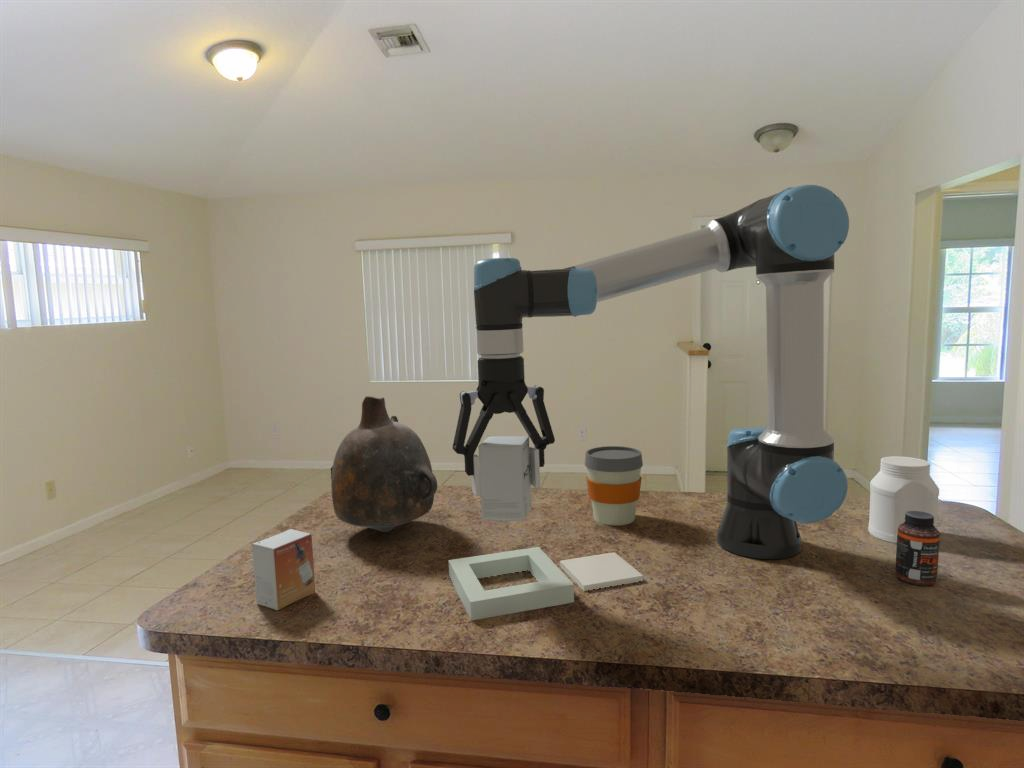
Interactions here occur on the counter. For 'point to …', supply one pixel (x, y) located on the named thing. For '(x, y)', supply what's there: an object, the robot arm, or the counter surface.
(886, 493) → the jar
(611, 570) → the tile
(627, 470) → the reusable coffee cup
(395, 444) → the jug
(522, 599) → the holder
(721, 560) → the counter surface
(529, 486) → the supplement box
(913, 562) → the supplement bottle
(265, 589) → the small box
